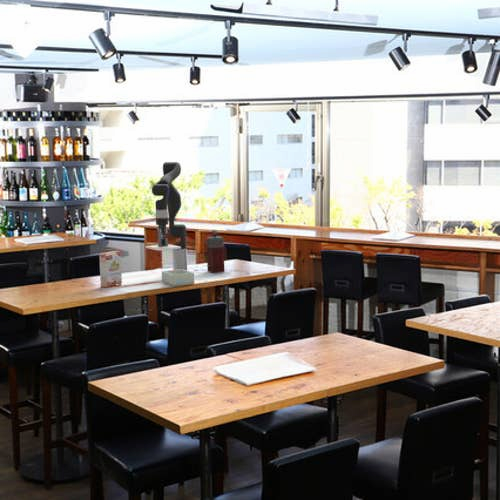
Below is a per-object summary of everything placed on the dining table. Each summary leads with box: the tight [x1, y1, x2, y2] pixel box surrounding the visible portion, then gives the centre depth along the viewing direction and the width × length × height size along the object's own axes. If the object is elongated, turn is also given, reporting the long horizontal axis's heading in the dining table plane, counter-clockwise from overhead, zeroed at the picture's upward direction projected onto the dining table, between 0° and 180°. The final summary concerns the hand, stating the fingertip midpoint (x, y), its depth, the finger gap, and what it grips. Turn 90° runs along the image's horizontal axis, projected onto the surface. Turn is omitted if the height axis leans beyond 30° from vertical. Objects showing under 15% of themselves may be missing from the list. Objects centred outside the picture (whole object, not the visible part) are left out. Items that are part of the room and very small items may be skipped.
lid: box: [145, 237, 181, 251], centre depth 521 cm, size 19×15×6 cm
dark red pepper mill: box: [206, 229, 228, 274], centre depth 568 cm, size 9×11×28 cm
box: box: [161, 269, 195, 287], centre depth 529 cm, size 18×14×7 cm
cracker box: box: [98, 250, 123, 288], centre depth 527 cm, size 14×6×21 cm, turn 148°
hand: (162, 245), depth 521 cm, fingers closed on lid
